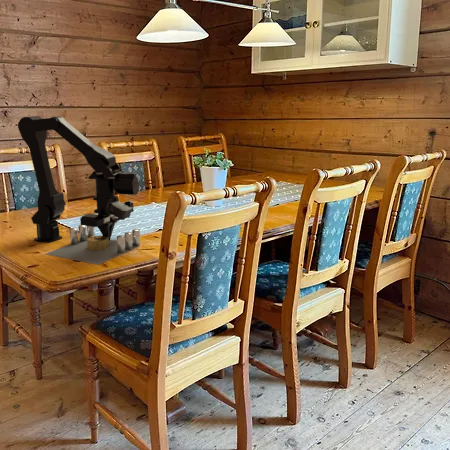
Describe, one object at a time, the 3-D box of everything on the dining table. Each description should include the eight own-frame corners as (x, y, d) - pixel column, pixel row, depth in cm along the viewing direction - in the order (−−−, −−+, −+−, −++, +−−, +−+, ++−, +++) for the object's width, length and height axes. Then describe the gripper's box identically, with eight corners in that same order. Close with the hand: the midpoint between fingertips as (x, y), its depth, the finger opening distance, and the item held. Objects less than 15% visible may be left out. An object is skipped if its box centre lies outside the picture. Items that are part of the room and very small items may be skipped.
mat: (44, 254, 147) (44, 253, 147) (90, 236, 165) (90, 236, 165) (98, 265, 139) (98, 264, 139) (140, 245, 157) (140, 244, 157)
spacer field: (69, 244, 156) (68, 229, 155) (90, 235, 165) (89, 221, 164) (122, 253, 148) (121, 238, 147) (141, 244, 157) (141, 229, 156)
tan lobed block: (84, 249, 151) (83, 240, 150) (93, 243, 157) (93, 234, 157) (103, 251, 150) (102, 241, 149) (112, 245, 156) (111, 235, 155)
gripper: (108, 201, 142) (110, 253, 146) (143, 190, 159) (145, 236, 163) (77, 198, 146) (80, 247, 151) (115, 187, 163) (117, 232, 167)
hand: (107, 240), depth 158 cm, fingers closed
